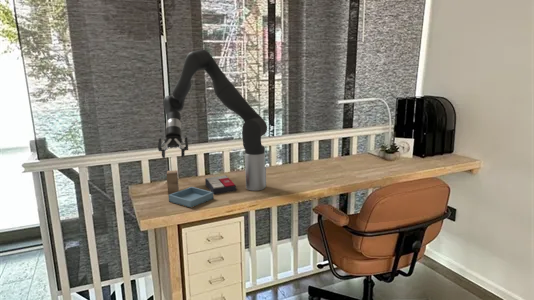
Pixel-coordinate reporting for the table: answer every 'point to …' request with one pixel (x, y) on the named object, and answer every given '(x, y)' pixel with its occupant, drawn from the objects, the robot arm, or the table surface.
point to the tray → (191, 196)
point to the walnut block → (172, 182)
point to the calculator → (220, 184)
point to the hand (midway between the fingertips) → (173, 157)
